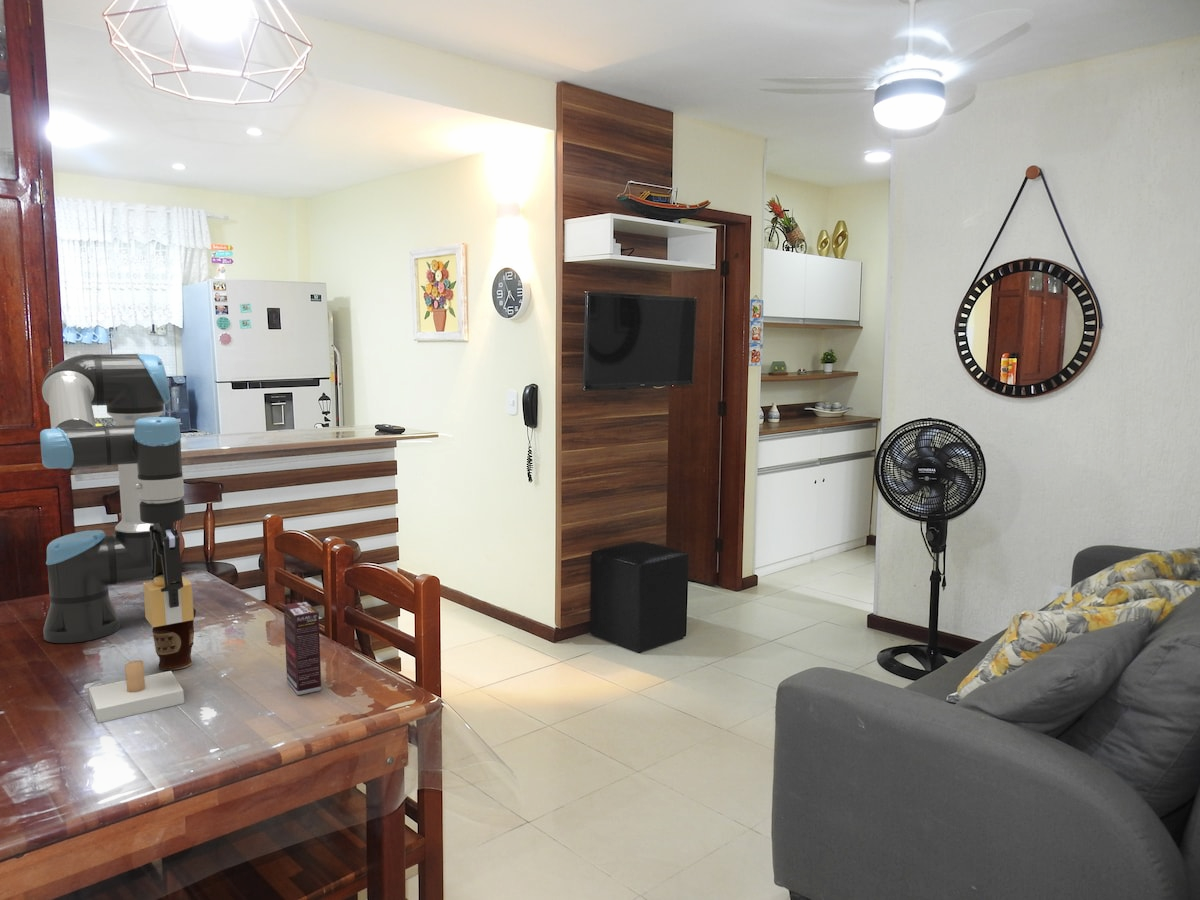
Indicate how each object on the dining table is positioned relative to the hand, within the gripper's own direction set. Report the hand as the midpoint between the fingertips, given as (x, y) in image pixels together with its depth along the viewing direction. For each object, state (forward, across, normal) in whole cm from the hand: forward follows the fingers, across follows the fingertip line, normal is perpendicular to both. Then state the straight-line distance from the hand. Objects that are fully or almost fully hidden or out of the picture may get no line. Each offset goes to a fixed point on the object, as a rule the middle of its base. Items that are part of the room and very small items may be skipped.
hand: (169, 617), depth 160 cm
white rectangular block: (+15, +1, -6) cm, 16 cm away
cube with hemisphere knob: (0, 0, 0) cm, 0 cm away
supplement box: (+15, +13, +21) cm, 29 cm away
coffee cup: (+15, -14, +3) cm, 21 cm away
